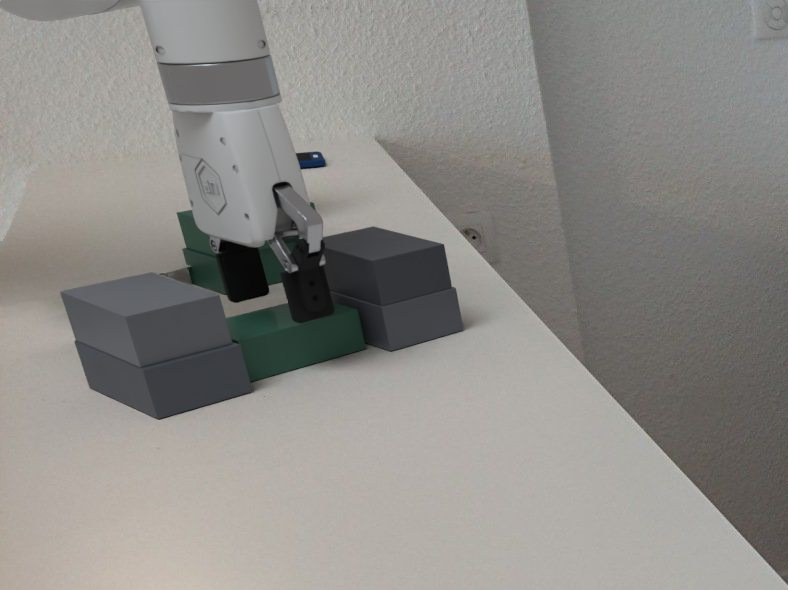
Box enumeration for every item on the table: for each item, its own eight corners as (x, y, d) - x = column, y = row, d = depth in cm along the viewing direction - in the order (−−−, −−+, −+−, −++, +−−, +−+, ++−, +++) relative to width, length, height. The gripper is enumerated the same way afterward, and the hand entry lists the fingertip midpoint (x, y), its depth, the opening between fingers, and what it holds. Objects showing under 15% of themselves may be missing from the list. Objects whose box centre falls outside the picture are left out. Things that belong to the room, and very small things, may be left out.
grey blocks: (158, 419, 93) (126, 318, 89) (89, 387, 98) (57, 291, 95) (464, 330, 111) (448, 243, 107) (390, 307, 117) (373, 224, 113)
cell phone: (326, 165, 173) (325, 160, 173) (210, 175, 168) (209, 169, 167) (322, 156, 179) (320, 150, 179) (210, 165, 173) (208, 159, 173)
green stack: (226, 295, 120) (207, 222, 117) (191, 283, 124) (171, 212, 121) (329, 271, 128) (314, 202, 124) (293, 260, 131) (277, 193, 128)
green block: (248, 382, 99) (237, 340, 98) (206, 366, 103) (194, 325, 101) (366, 349, 107) (358, 309, 105) (323, 334, 110) (314, 295, 108)
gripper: (114, 82, 97) (181, 302, 105) (230, 100, 88) (294, 340, 96) (213, 71, 102) (270, 280, 110) (333, 86, 93) (385, 314, 101)
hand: (281, 308), depth 103 cm, fingers open, 9 cm apart
